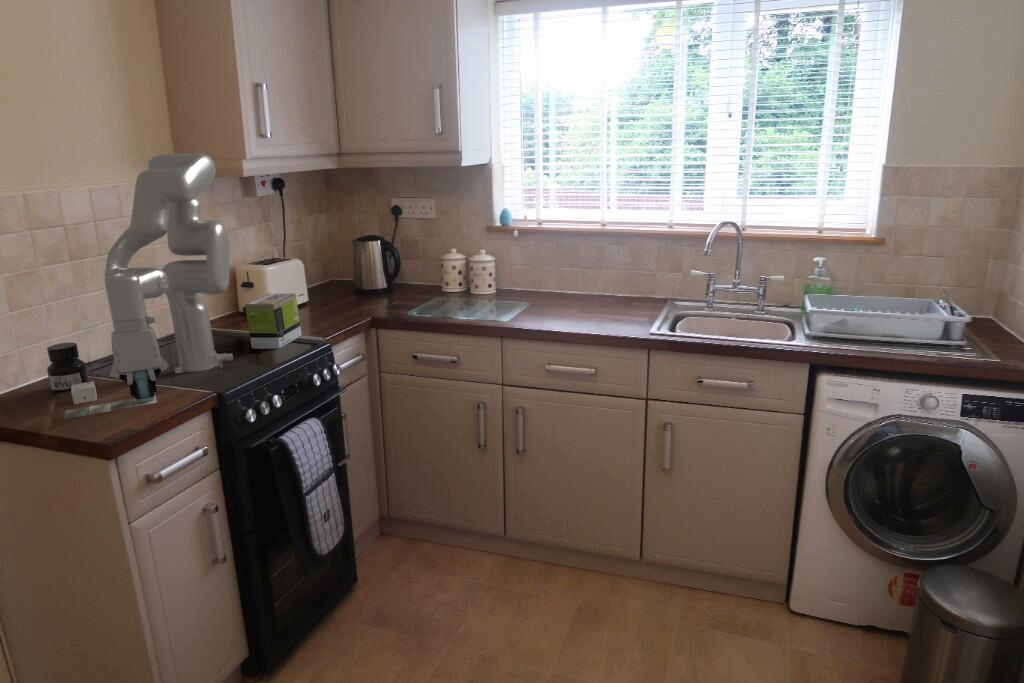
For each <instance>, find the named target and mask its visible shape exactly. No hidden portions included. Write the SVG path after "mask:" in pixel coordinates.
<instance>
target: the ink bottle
mask: <svg viewBox="0 0 1024 683" xmlns="http://www.w3.org/2000/svg"><path fill="white" fill-rule="evenodd" d="M46 350H47V353H48V358H49V362H50V365H48V367H47V369H46V370H47V371H46V373H47V375H48V380H49V385H50V388H51V389H50V390H51V392H52V393H54V394H61V393H67V392H71V385H75V384H81V383H87V382H90V379H89V375H88V371H87V365H86V363H85V361H84V360H81V359H80V358H79V357H80V355H79V349H78V345H77V343H76V342H63V343H61V342H60V343H56V344H52V345H49V346H47V349H46Z"/></svg>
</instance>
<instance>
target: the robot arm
mask: <svg viewBox="0 0 1024 683" xmlns="http://www.w3.org/2000/svg"><path fill="white" fill-rule="evenodd" d="M147 163H148V164H147V167H148V168H147V170H144V171H141V172H140V173H139V174H138V175H137V177H136V180H135V186H134V187H135V188H134V192H133V201H132V202H133V203H132V208H131V209H132V210H131V219H130V224H129V227H127V229H126V230H125V231H124V232H122V234H121V235H120V236H119V237H118V238H117V239H116V240H115V242H114V243H113V245H112V246H111V248H110V249H109V252H108V254H107V257H106V264H105V271H104V286H105V290H106V295H107V296H106V297H107V300H108V305H109V310H110V315H111V320H112V325H113V330H114V331H112V332H111V333H110V334H111V338H110V340H111V341H110V342H111V349H112V357H113V363H112V367H111V369H110V372H109V376H110V377H111V378H115V379H119V380H121V381H123V382H125V383H126V384H127V385H128V386H129V390H130V396H131V397H134V401H135V400H137V399H138V392H137V387H136V382H135V378H134V377H133V372H135V371H141V370H147V372H148V375H149V376H148V382H149V387H150V393H151V396H152V397H154V395H155V393H157V392H158V390H157V385H156V379H157V378H158V376H159V375H160V374H161V373H162V372H164V371H165V370H167V369H168V368H169V367H170V365H169V363H168V362H167V360H166V359H165V357H163V356H162V354H161V352H160V347H159V343H158V338H157V335H156V332H155V330H154V328H153V326H151V324H155V322H156V321H155V316H154V317H153V316H152V317H151V316H148V314H147V308H146V303H145V300H149V299H156V298H159V297H161V296H163V295H165V296H166V298H167V302H168V306H169V309H170V315H171V321H172V327H173V332H174V338H175V339H174V340H175V344H176V350H177V356H178V362H179V366H178V367H176V368H175V369H174V374H181V373H195V372H196V373H197V372H202V371H207V370H210V369H212V368H216V367H220V368H221V369H223V368H224V367H223V362H226V361H227V362H229V361H233V360H234V356H233V353H227V352H224V353H220V354H219V353H217V352H216V350H215V345H214V339H213V333H212V326H211V320H210V314H209V313H210V312H209V309H208V305H207V304H206V302H205V301H204V299H202V297H201V296H207V295H208V296H210V295H220V294H223V293H225V292H226V290H227V289H228V286H229V282H230V236H229V233H228V230H227V228H226V227H225V225H224V224H223V223H222V222H221V221H218V220H214V219H210V220H208V219H207V220H205V219H203V220H202V206H201V202H200V200H199V198H198V197H199V196H200V195H201V194H202V193H204V191H205V190H206V189H207V188H208V187H210V185H211V184H212V183H213V182H214V180H215V177H216V165H215V162H214V160H213V159H212V158H211V156H210V155H208V154H206V153H202V152H192V153H191V152H189V153H164V154H159V155H155V156H153V157H151V158H150V159H149V161H148V162H147ZM165 235H167V236H166V237H167V247H168V249H169V251H170V252H171V254H173V255H176V256H181V257H183V256H184V257H187V256H188V257H189V256H190V257H192V256H193V257H194V256H195V257H196V256H206V259H188V260H187V259H185V260H184V259H181V260H174V261H170V262H168V263H166V264H165V265H164V266H163V267H162V268H161V269H160V268H157V267H129V264H130V261H131V259H132V258H133V256H134V255H136V253H137V252H138V251H140V250H141V249H142V248H144V247H146V246H147V245H150V244H151V243H153V242H156V241H157V240H159V239H162V238H163V237H164V236H165ZM133 378H134V379H133Z"/></svg>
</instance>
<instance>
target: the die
mask: <svg viewBox="0 0 1024 683" xmlns="http://www.w3.org/2000/svg"><path fill="white" fill-rule="evenodd" d="M70 393H71V396H72V401H73V405H79V404H84V403H89V402H94V401H98V393H97V389H96V385H95V381H94V380H93V381H89V382H87V383H81V384H75V385H71V391H70Z"/></svg>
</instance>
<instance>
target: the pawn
mask: <svg viewBox="0 0 1024 683" xmlns="http://www.w3.org/2000/svg"><path fill="white" fill-rule="evenodd" d="M148 375H149V373H148V370H141V371H135V372H132V377H133V378H134V382H136V387H137V393H138V399H137V400H136V401H137V403H147V402H151V401H153V400H154V397H152V396H151V391H150V386H149V380H148V379H149V376H148Z"/></svg>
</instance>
